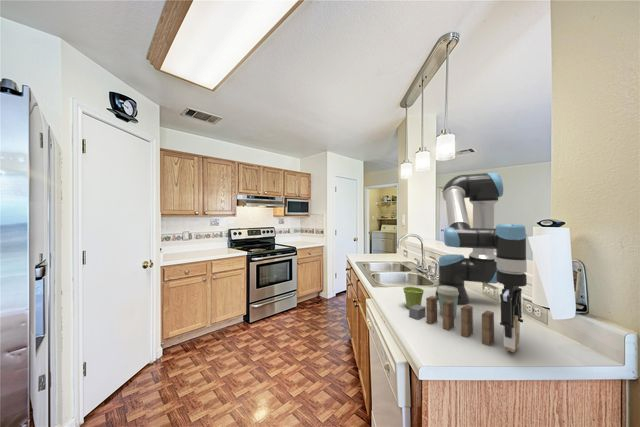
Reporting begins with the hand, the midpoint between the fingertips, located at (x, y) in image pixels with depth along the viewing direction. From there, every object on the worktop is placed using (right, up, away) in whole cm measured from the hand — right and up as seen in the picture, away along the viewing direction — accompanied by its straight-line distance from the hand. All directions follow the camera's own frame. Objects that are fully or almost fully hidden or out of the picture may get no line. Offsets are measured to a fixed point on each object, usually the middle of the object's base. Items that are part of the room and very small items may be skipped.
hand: (512, 344), depth 74 cm
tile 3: (-8, -2, +10) cm, 13 cm away
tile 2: (-4, -2, +5) cm, 7 cm away
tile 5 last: (-16, -3, +21) cm, 26 cm away
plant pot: (-17, -3, +36) cm, 40 cm away
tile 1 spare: (0, -1, 0) cm, 1 cm away
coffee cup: (-5, -3, +27) cm, 28 cm away
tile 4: (-12, -3, +16) cm, 20 cm away
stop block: (-19, -3, +26) cm, 32 cm away
